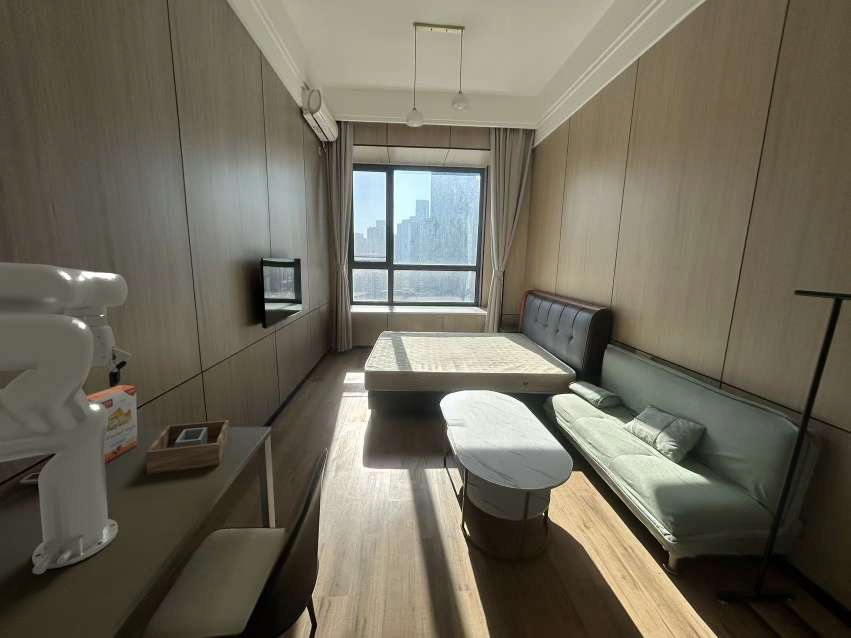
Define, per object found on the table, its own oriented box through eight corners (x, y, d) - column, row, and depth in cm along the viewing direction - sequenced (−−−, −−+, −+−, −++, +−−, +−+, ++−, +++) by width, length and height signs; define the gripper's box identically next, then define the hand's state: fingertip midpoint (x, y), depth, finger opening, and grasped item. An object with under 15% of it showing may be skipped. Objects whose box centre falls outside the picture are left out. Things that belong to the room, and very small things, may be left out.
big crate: (219, 465, 102) (219, 444, 101) (147, 475, 95) (146, 452, 94) (228, 438, 119) (228, 419, 118) (168, 445, 112) (167, 425, 111)
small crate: (201, 457, 104) (200, 439, 103) (175, 460, 101) (175, 442, 101) (207, 443, 112) (207, 427, 111) (184, 446, 109) (183, 429, 109)
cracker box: (97, 469, 96) (93, 400, 94) (77, 467, 96) (72, 399, 94) (139, 445, 110) (137, 385, 108) (121, 444, 110) (118, 384, 108)
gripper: (28, 323, 76) (34, 394, 78) (123, 324, 83) (126, 389, 85) (49, 319, 83) (54, 384, 85) (135, 320, 90) (138, 380, 92)
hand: (90, 386), depth 85 cm, fingers open, 9 cm apart
